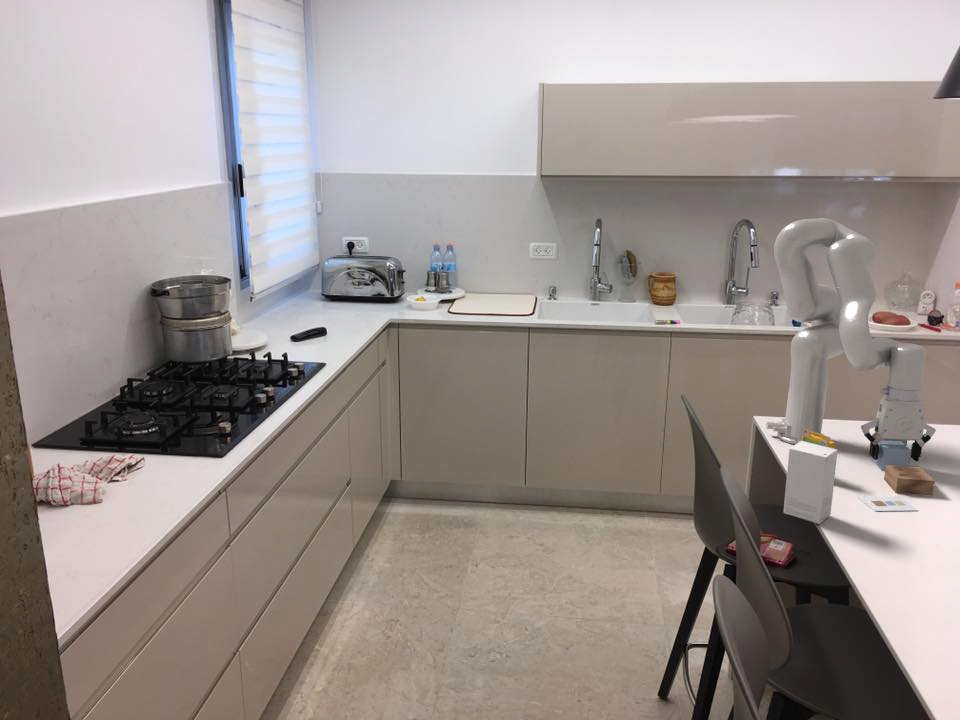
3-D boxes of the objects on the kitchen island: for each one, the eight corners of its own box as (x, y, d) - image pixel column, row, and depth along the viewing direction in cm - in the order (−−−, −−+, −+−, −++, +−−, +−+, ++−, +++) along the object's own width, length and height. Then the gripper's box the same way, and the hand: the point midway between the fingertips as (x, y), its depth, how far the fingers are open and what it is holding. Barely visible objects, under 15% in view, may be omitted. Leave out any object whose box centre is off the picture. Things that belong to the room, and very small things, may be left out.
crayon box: (831, 480, 189) (837, 435, 186) (823, 482, 187) (829, 437, 184) (804, 469, 195) (810, 425, 192) (797, 472, 193) (803, 428, 190)
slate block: (881, 471, 195) (885, 448, 193) (872, 461, 200) (876, 440, 199) (906, 472, 194) (910, 450, 192) (897, 463, 200) (901, 441, 198)
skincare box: (830, 516, 170) (840, 449, 166) (818, 526, 166) (828, 457, 161) (793, 503, 176) (801, 439, 172) (780, 513, 171) (788, 446, 167)
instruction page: (874, 511, 172) (874, 510, 172) (857, 497, 179) (858, 496, 179) (917, 511, 173) (918, 509, 173) (899, 497, 180) (900, 496, 180)
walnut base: (895, 494, 182) (897, 478, 181) (883, 480, 190) (886, 464, 189) (931, 496, 181) (934, 480, 180) (918, 482, 189) (921, 467, 188)
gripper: (871, 397, 189) (863, 463, 193) (947, 399, 187) (937, 465, 191) (860, 388, 196) (852, 452, 201) (933, 390, 195) (923, 454, 199)
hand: (894, 458), depth 196 cm, fingers open, 9 cm apart
